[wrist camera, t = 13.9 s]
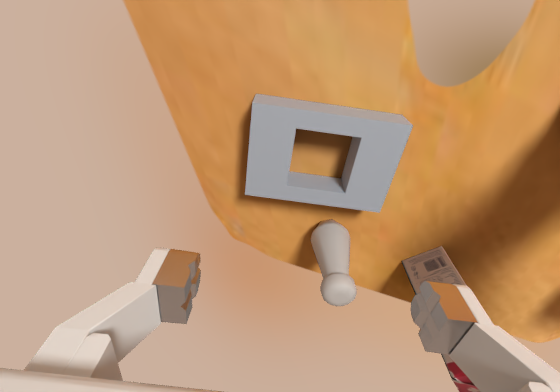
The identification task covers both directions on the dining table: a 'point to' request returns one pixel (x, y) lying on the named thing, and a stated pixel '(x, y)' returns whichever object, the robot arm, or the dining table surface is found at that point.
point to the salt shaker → (334, 262)
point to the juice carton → (440, 270)
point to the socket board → (330, 119)
